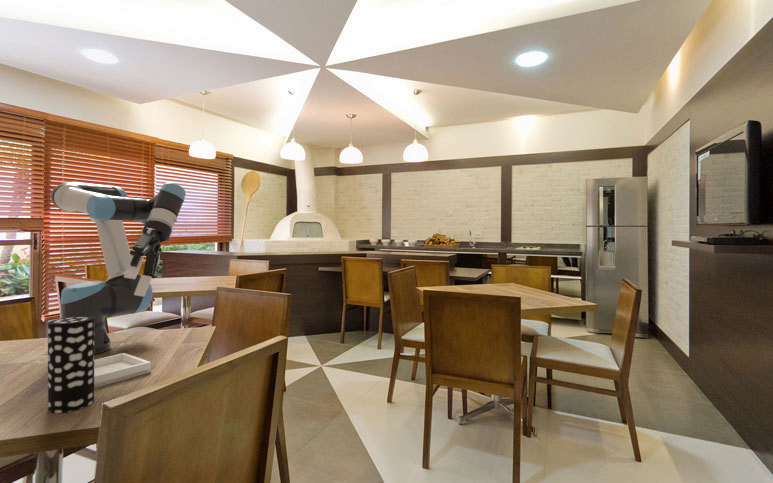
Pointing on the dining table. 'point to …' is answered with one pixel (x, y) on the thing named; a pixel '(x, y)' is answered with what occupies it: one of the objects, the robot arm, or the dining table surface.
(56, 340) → the white-spotted black cylinder
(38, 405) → the dining table surface
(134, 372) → the tray
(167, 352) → the dining table surface
